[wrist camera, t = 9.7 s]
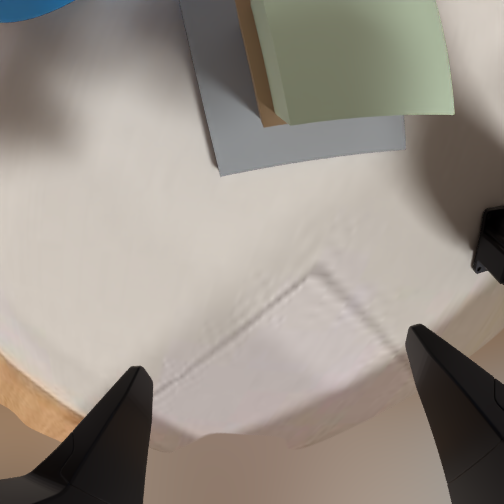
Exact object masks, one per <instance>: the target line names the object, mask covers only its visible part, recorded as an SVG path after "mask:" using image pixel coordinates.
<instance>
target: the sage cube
mask: <svg viewBox="0 0 504 504" xmlns="http://www.w3.org/2000/svg"><path fill="white" fill-rule="evenodd" d="M251 8H252V12H253V16H254V20H255V25H256V29H257V33H258V37H259V41H260V46H261V50H262V54H263V59H264V63H265V68H266V73H267V77H268V82H269V87H270V92H271V96H272V101H273V106H274V111H275V114H276V115H277V116H279V117H280V118H281V119H282V120H284V121H285V122H286V123H287V124H289V125H290V126H292V125H299V124H306V123H314V122H322V121H330V120H339V119H350V118H361V117H375V116H394V115H455V113H454V100H453V89H452V81H451V73H450V66H449V59H448V53H447V48H446V43H445V38H444V33H443V28H442V24H441V20H440V16H439V12H438V8H437V4H436V1H435V0H251Z"/></svg>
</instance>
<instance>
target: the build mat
mask: <svg viewBox="0 0 504 504" xmlns="http://www.w3.org/2000/svg"><path fill="white" fill-rule="evenodd" d="M179 2H180V7H181V11H182V16H183V20H184V25H185V29H186V34H187V38H188V42H189V47H190V51H191V55H192V60H193V64H194V68H195V73H196V77H197V81H198V85H199V90H200V94H201V98H202V102H203V106H204V111H205V115H206V119H207V123H208V127H209V131H210V136H211V140H212V144H213V148H214V152H215V156H216V160H217V164H218V168H219V172H220V176H221V177H222V176H226V175H231V174H236V173H241V172H246V171H251V170H257V169H262V168H268V167H273V166H279V165H285V164H291V163H297V162H303V161H310V160H317V159H324V158H331V157H339V156H346V155H355V154H363V153H373V152H383V151H394V150H406V139H405V125H404V115H394V116H375V117H361V118H350V119H339V120H330V121H322V122H314V123H306V124H299V125H292V126H290V125H289V124H283V125H277V126H271V127H266V128H263V125H262V122H261V120H260V116H259V111H258V106H257V101H256V96H255V92H254V87H253V82H252V78H251V73H250V69H249V64H248V60H247V56H246V51H245V47H244V42H243V38H242V34H241V30H240V25H239V20H238V15H237V9H236V4H235V0H179Z"/></svg>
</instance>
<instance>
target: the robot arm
mask: <svg viewBox="0 0 504 504" xmlns="http://www.w3.org/2000/svg"><path fill="white" fill-rule="evenodd" d="M473 270H474V272H475V273H477V274H478V273H481V272H485V271H489V272H490V273H491V275H492V276H493V277H494V278H495V279H496V280H497V281H498V282H499V283H500V284H503V285H504V206H501V207H495V208H489V209H486V210H485V211H484V213H483V219H482V226H481V232H480V238H479V243H478V248H477V253H476V258H475V263H474V267H473ZM405 347H406V351H407V355H408V358H409V362H410V366H411V369H412V373H413V377H414V381H415V384H416V388H417V391H418V394H419V396H420V399H421V402H422V404H423V407H424V410H425V413H426V416H427V418H428V421H429V424H430V427H431V430H432V433H433V436H434V439H435V443H436V446H437V449H438V453H439V456H440V459H441V463H442V466H443V470H444V473H445V477H446V481H447V483H448V489H449V493H450V498H451V502H452V504H504V384H502V383H501V382H500V381H498V380H497V379H494V377H493V376H492V375H490V374H489V373H488V372H486V371H485V370H484V369H482V368H481V367H480V366H478V365H477V364H476V363H475V362H473V361H472V360H471V359H469V358H468V357H467V356H465V355H464V354H462V353H461V352H460V351H458V350H457V349H456V348H454V347H453V346H452V345H450V344H449V343H447V342H446V341H445V340H443V339H442V338H441V337H439V336H438V335H436V334H435V333H434V332H432V331H431V330H429V329H428V328H427V327H425V326H424V325H422V324H416V325H412V326H410V327H409V329H408V334H407V338H406V343H405ZM152 402H153V381H152V379H151V377H150V376H149V375H148V373H147V372H146V370H145V369H144V368H143V367H142V366H131V367H130V368H129V369H128V370H127V371H126V372H125V373H124V375H123V376H122V377H121V378H120V379H119V380H118V381H117V382H116V383H115V384H114V386H113V387H112V388H111V389H110V390H109V391H108V392H107V393H106V394H105V396H104V397H103V398H102V399H101V400H100V401H99V402H98V403H97V404H96V406H95V407H94V408H93V409H92V410H91V411H90V412H89V413H88V414H87V416H86V417H85V418H84V419H83V420H82V421H81V422H80V423H79V424H78V426H77V427H76V428H75V429H74V430H73V432H71V433H70V435H69V436H68V437H67V438H66V439H65V440H64V441H63V442H62V443H61V444H60V445H59V446H58V447H57V449H55V450H54V451H53V452H52V453H51V454H50V455H49V456H48V457H47V458H46V459H45V460H44V461H43V462H42V463H40V464H39V465H38V466H37V467H36V468H35V469H34V470H33V471H31V472H30V473H28V474H26V475H24V476H21V477H14V478H8V479H1V480H0V504H143V496H144V484H145V473H146V465H147V456H148V447H149V440H150V432H151V424H152Z"/></svg>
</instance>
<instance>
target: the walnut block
mask: <svg viewBox="0 0 504 504" xmlns="http://www.w3.org/2000/svg"><path fill="white" fill-rule="evenodd" d="M235 4H236V9H237V15H238V20H239V25H240V30H241V34H242V38H243V42H244V47H245V51H246V56H247V60H248V64H249V69H250V73H251V78H252V82H253V87H254V92H255V96H256V101H257V106H258V111H259V116H260V120H261V122H262V125H263V128H266V127H271V126H277V125H283V124H287V123H286V122H285V121H284V120H282V119H281V118H280V117H279V116H277V115H276V114H275V111H274V106H273V101H272V96H271V92H270V87H269V82H268V77H267V73H266V68H265V63H264V59H263V54H262V50H261V46H260V41H259V37H258V33H257V29H256V25H255V20H254V16H253V12H252V8H251V0H235Z"/></svg>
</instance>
